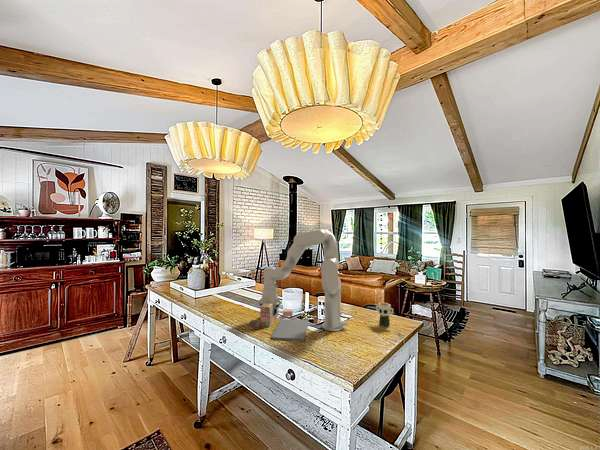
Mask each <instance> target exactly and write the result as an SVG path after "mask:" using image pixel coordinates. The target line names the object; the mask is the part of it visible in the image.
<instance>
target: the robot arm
mask: <svg viewBox="0 0 600 450" xmlns="http://www.w3.org/2000/svg"><path fill="white" fill-rule="evenodd" d="M321 244H322V247H323V261H322V263H321V267H320V268H321V269H320V271H321V273H320V274H321V286H322V287H321V288H322V290H323V291H324V322H323V323H322V324H321V328H322V329H323V330H325V331H327V332H339V331H342V330H343V329H344V326H345V327H348V326H349V322H348V321H347V322H346V321H344V320H342V319H341V315H342V313H341V308H342V307H341V303H342V302H341V301H342V299H341V298H342V297H341V296H342V295H341V294H342V281H341V278H340V277H339V268H340V262H339V261H340V260H339V250H338V241H337V239H336V236H334V234H333V233H332V232H330V231H328V230H327V229H323V228H321V229H315V230H314V229H313V230H310V231H307V232H301V233H297V234H296V235H295V236H294V237H293V243H292V244H291V246H290V248H289V249H288V250H287V256H286V259H285V261H284V262H283V264H281V266H279V267H277V268H276V267H275V266H266V267H264V269H263V288H262V291H261V298H260V299H259V300H258V301H257V304H258V305H259V307H260V306H261V305H262V304H264V303H274V315H276V313H277V308H278V307H280V306H281V305H282V303H283V302H282V301H281V300H280V299H279V294H278V287H279V285H278V284H277V281H282V280H284V279H286V278H288V277H289V275H290V274H291V273H292V271H293V270H294V268H295V267H296V265H297V263H298V262H299V260H300V258H301V257H302V255H303V254H304V252H305V251H306V249H307V248H308V247H312V246H316V245H321ZM277 302H278V305H277Z"/></svg>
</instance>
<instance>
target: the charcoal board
mask: <svg viewBox="0 0 600 450" xmlns="http://www.w3.org/2000/svg"><path fill="white" fill-rule="evenodd" d="M308 322H310V321H309V319H294V318H293V319H287V318H280V320H279V321H278V324H277V326H276V327H275V329H274V331H273V333H272V335H271V337H270V339H271V340H274V339H281V340H280V341H292V340H293V341H295V342H305V340H306V336H307V330H308V327H309V323H308Z"/></svg>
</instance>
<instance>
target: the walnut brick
mask: <svg viewBox="0 0 600 450" xmlns="http://www.w3.org/2000/svg"><path fill="white" fill-rule="evenodd" d="M261 328H262V326H261V320H259V319H251V320H249V322H248V329H251V330H260V329H261Z"/></svg>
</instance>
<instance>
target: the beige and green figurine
mask: <svg viewBox="0 0 600 450" xmlns="http://www.w3.org/2000/svg"><path fill="white" fill-rule="evenodd" d="M375 311H377V312H378V315H380V316H379V321H378V324H379V325H380V326H383V327H389V326H390V317H389V316H390V315H393V314H394V308H392V307H391V304H390V303H388V302H379V303H378V305H375Z"/></svg>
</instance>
